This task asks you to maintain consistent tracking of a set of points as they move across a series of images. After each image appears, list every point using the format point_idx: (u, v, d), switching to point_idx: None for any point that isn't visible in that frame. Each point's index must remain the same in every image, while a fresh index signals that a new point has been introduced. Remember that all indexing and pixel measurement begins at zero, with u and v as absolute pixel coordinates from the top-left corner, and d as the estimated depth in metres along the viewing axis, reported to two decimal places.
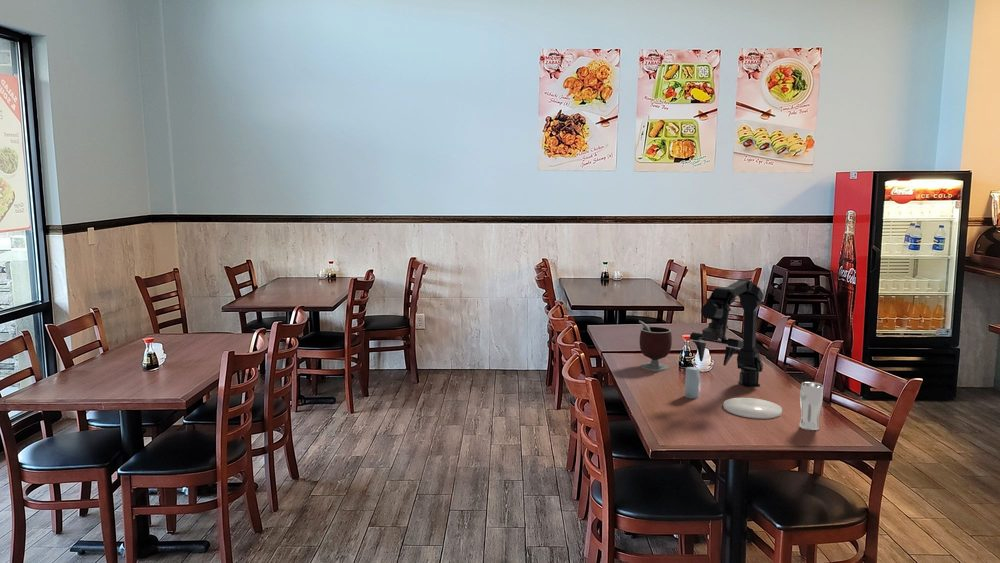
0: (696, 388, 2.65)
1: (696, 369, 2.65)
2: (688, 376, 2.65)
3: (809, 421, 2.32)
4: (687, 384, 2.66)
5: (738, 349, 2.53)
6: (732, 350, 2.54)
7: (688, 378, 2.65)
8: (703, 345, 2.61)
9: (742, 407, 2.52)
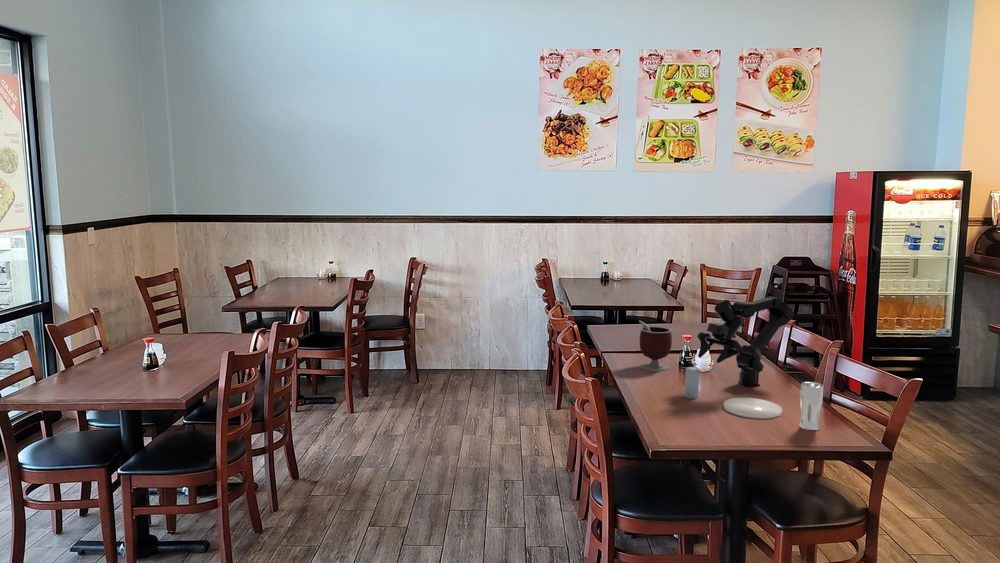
0: (696, 388, 2.65)
1: (696, 369, 2.65)
2: (688, 376, 2.65)
3: (809, 421, 2.32)
4: (687, 384, 2.66)
5: (735, 353, 2.66)
6: (730, 353, 2.67)
7: (688, 378, 2.65)
8: (707, 346, 2.76)
9: (742, 407, 2.52)
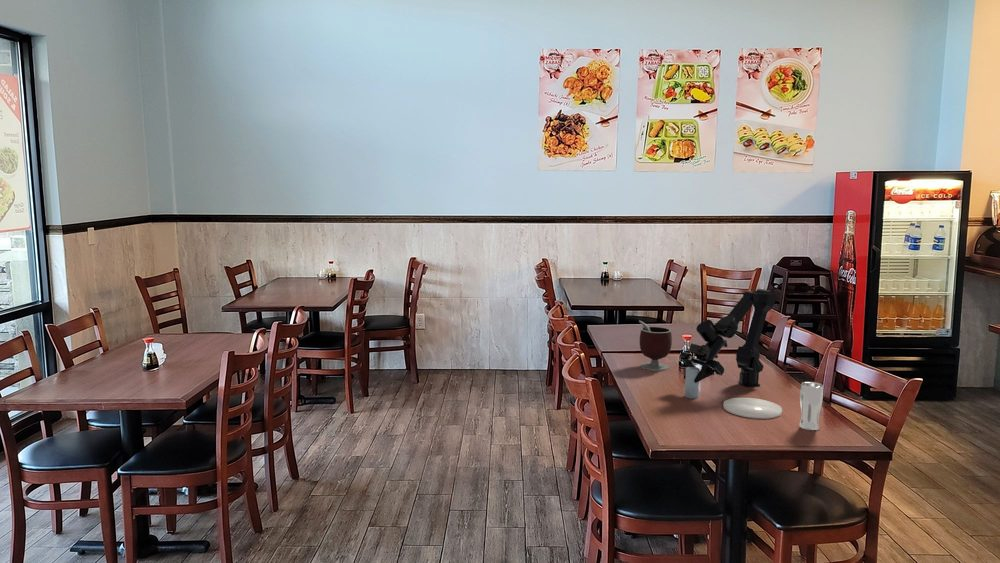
0: (696, 388, 2.65)
1: (696, 369, 2.65)
2: (688, 376, 2.65)
3: (809, 421, 2.32)
4: (687, 384, 2.66)
5: (713, 373, 2.63)
6: (707, 372, 2.65)
7: (688, 378, 2.65)
8: None
9: (742, 407, 2.52)
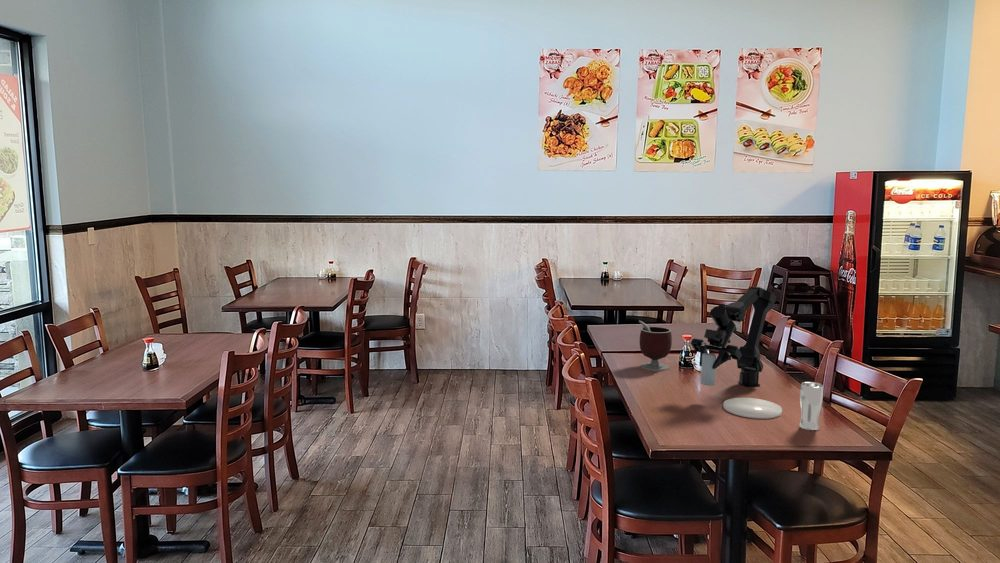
0: (713, 374, 2.59)
1: (713, 355, 2.59)
2: (706, 363, 2.58)
3: (809, 421, 2.32)
4: (704, 371, 2.59)
5: (730, 358, 2.58)
6: (724, 358, 2.59)
7: (705, 365, 2.58)
8: None
9: (742, 407, 2.52)
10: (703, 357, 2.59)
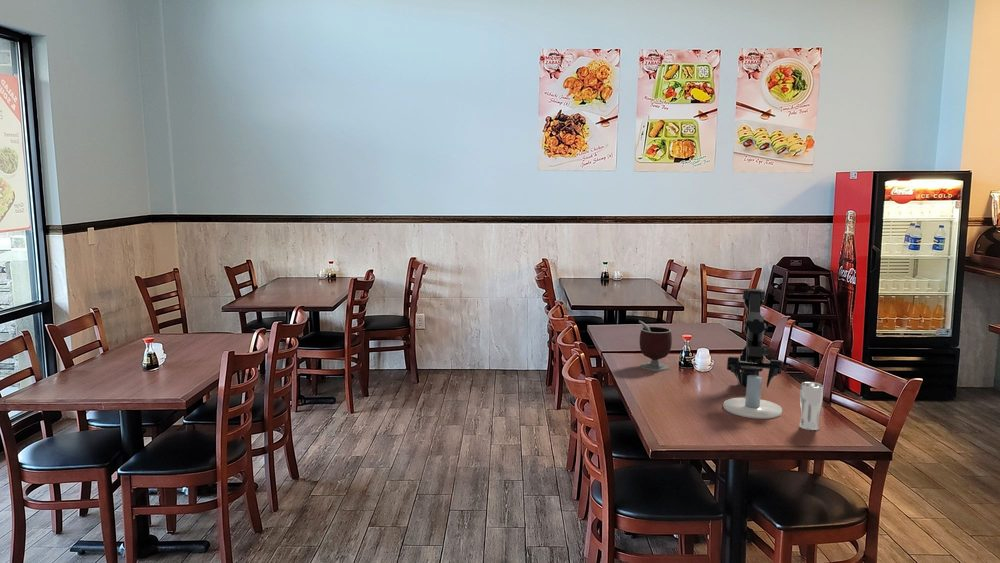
0: (760, 396, 2.52)
1: (758, 376, 2.51)
2: (755, 385, 2.49)
3: (809, 421, 2.32)
4: (753, 394, 2.50)
5: None
6: None
7: (755, 387, 2.49)
8: None
9: (742, 407, 2.52)
10: (751, 380, 2.50)
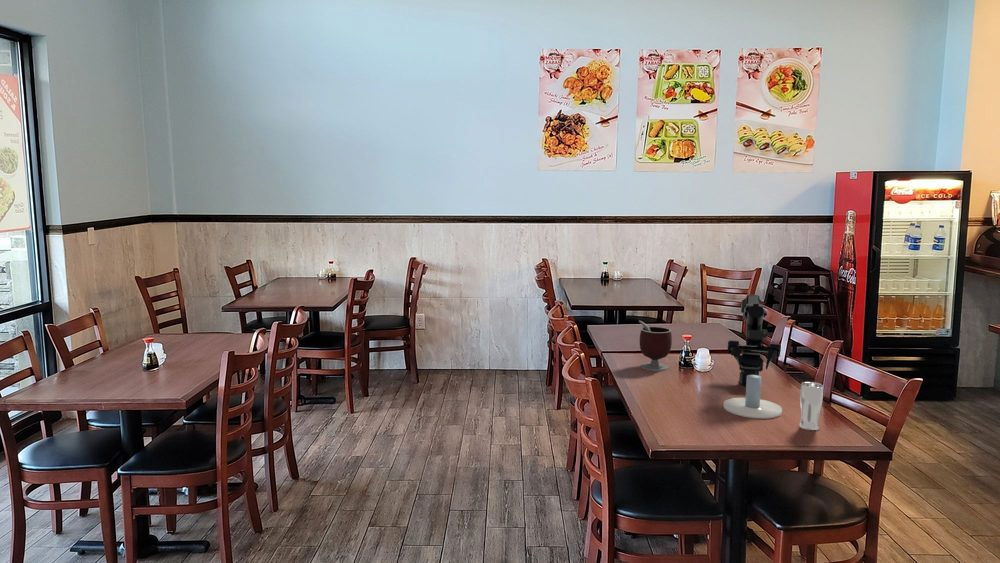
0: None
1: (758, 376, 2.52)
2: (755, 385, 2.49)
3: (809, 421, 2.32)
4: (753, 394, 2.50)
5: (776, 356, 2.62)
6: None
7: (754, 387, 2.50)
8: None
9: (742, 407, 2.52)
10: (751, 380, 2.50)
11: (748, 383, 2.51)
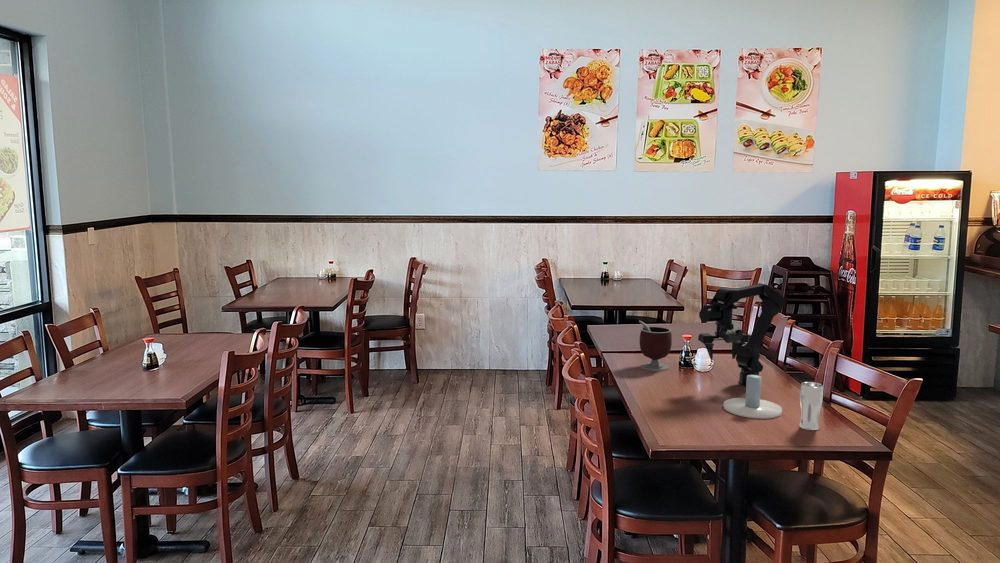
0: None
1: (758, 376, 2.51)
2: (755, 385, 2.49)
3: (809, 421, 2.32)
4: (753, 394, 2.50)
5: None
6: None
7: (754, 387, 2.50)
8: None
9: (742, 407, 2.52)
10: (751, 380, 2.50)
11: (748, 383, 2.51)
